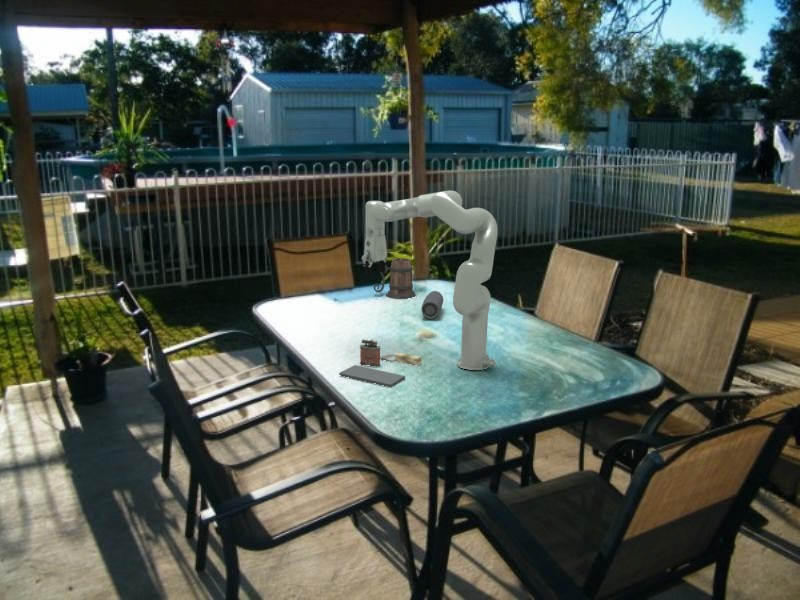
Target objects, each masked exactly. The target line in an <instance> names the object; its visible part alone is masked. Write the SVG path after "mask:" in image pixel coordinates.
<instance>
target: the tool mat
mask: <svg viewBox="0 0 800 600" xmlns="http://www.w3.org/2000/svg"><path fill="white" fill-rule="evenodd" d="M338 374H339V375H341V376H340V377H342V376H345V377H344V378H346V377H349V378H348V379H350V378H352V379H351V380H355V379H356V381H359V380H361V381H360V382H363V381H366V382H365V383H368V382H371V383H370V384H372V383H376V384H379V385H378V386H381V385H384V386H383V387H385V386H388V387H387V388H389V387H391V388H392V386H393V387H394V386H396V385H398V384H400V383H401V382H403V381H405V380H406V376H405V375H403V374H397V373H394V372H389V371H383V370H379V369H374V368H370V367H367V366H362V365H356V364H354V365H352V366H350V367H348V368H346V369H344V370H342V371H340V372H339V373H338ZM339 375H338V376H339ZM402 380H403V381H402ZM397 383H398V384H397ZM376 384H375V385H376Z"/></svg>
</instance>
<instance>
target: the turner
mask: <svg viewBox="0 0 800 600" xmlns="http://www.w3.org/2000/svg"><path fill="white" fill-rule="evenodd" d="M380 359H381V360H380V361H383V360H386V361H385V362H387V361H390V362H389V363H392V362H393V363H395V362H394V361H397V362H396V363H400V362H402V363H401V364H404V363H407V364H406V365H409V364H412V365H411V366H414V365H417V366H416V367H419V366H420V365H422V356H419V355H413V354H409V353H404V352H397V353H395V354H392V353H389V352H385V353H384V354H382V355H381V354H380ZM419 364H420V365H419ZM418 365H419V366H418Z"/></svg>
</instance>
